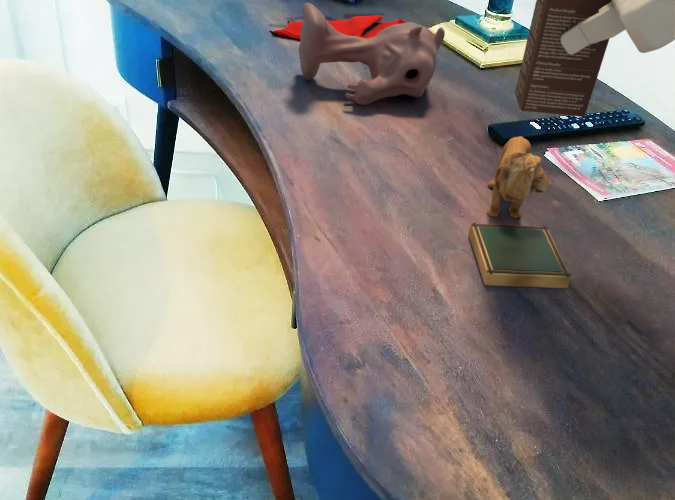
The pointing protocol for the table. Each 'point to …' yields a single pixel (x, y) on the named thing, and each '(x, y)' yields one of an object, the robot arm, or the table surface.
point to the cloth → (346, 27)
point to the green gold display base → (518, 256)
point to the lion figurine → (517, 176)
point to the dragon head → (372, 56)
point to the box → (558, 60)
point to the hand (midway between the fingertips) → (561, 33)
